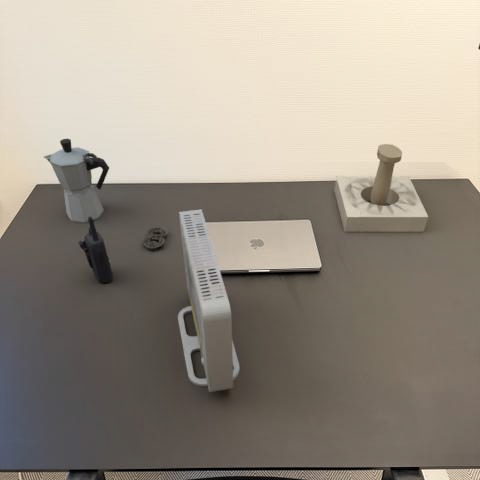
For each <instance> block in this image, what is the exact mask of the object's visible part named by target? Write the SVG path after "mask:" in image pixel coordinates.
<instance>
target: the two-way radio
mask: <svg viewBox="0 0 480 480" xmlns="http://www.w3.org/2000/svg"><path fill="white" fill-rule="evenodd" d="M88 221H89V222H88V224H89V227H88V232H87V233H86V234H85V235H84V240H79V241H78V245H79V248H81V249H82V250H83V252H84V254H85V257H86V261H87V263H88V266H89V268H90V269H92V273H93V275H94V278H95V279H96V281H97V282H98V283H100V284H107V283H111V282H112V281H113V280H114V275H113V270H112V266H111V262H110V258H109V255H108V253H107V249H106V245H105V241H104V239H103V237H102V235H101V234H100V233H99V232H98V231H97V228H96V225H95V222H94V220H93V219H92V217H91V216H89V217H88Z"/></svg>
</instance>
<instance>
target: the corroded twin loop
mask: <svg viewBox="0 0 480 480" xmlns="http://www.w3.org/2000/svg"><path fill="white" fill-rule="evenodd" d="M145 234H146V235H147V236H146V237H144V238H143V239H142V241H141V243H142V244H143V246H144V247H146V248H147V249H149V250H151V251H152V250H153V251H155V250H157V249H159V248H162V247H163V246H164V245H165V244H164V243H165V242H166V240H165V238H166V237H167V234H168V230H167V229H166V228H164V227H162V226H154V227H150V228H149V229H147V230H146V233H145Z"/></svg>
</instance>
